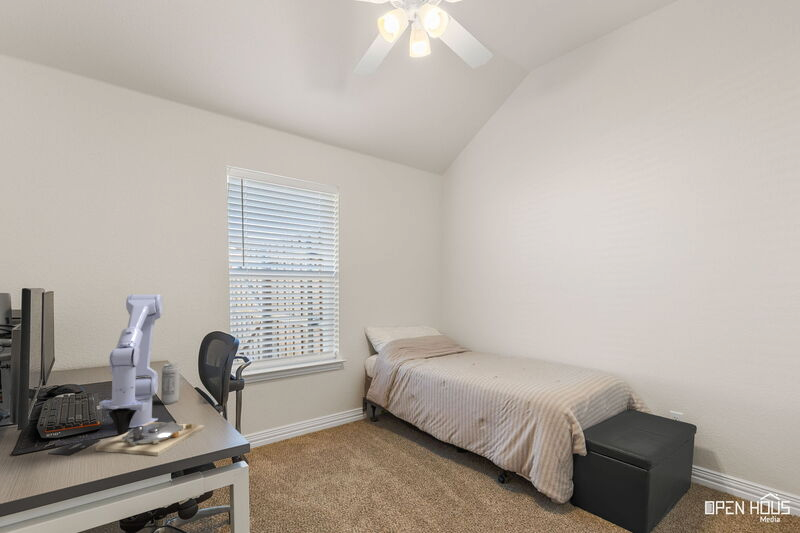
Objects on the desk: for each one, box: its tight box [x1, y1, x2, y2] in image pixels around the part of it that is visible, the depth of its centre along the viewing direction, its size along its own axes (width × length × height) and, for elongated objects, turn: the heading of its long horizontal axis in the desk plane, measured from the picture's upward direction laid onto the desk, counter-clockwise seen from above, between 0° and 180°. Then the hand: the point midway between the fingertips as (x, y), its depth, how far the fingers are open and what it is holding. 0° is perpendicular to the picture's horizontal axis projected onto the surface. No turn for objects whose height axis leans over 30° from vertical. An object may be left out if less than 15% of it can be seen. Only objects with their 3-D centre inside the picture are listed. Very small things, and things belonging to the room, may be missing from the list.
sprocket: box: [122, 421, 183, 446], centre depth 121 cm, size 16×16×4 cm
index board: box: [95, 421, 205, 457], centre depth 121 cm, size 20×20×2 cm
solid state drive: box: [47, 438, 101, 457], centre depth 115 cm, size 7×10×1 cm
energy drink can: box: [160, 362, 180, 405], centre depth 156 cm, size 6×6×15 cm
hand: (122, 433), depth 117 cm, fingers closed
